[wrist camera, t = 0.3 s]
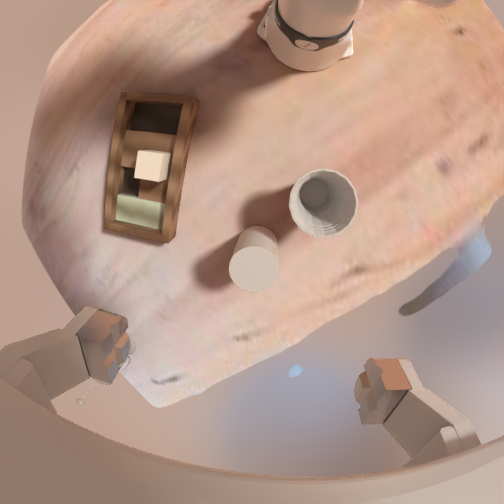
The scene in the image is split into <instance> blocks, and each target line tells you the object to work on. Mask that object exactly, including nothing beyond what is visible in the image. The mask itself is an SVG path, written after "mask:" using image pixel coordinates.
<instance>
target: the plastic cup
mask: <svg viewBox="0 0 504 504" xmlns="http://www.w3.org/2000/svg"><path fill="white" fill-rule="evenodd" d="M289 208H290V212H291V215H292V219H293V220H294V222H295V223H296V224H297V225H298V227H299V228H300V229H301V230H302V231H304V232H306V233H307V234H309V235H311V236H312V237H320V238H329V237H333V236H337V235H339V234H341V233H342V232H343V231H345V230H346V229H347V228H349V227H350V225H351V224H352V222H353V220H354V219H355V217H356V215H357V209H358V198H357V193H356V189H355V188H354V186H353V185H352V183H351V182H350V181H349V179H348V178H347V177H346V176H344V175H342V174H341V173H339V172H338V171H336V170H331V169H325V168H320V169H316V170H312V171H308V172H307V173H306V174H304V175H303V176H302V177H300V178H299V179H298V180H297V181H296V183H295V185H294V187H293V188H292V190H291V192H290V200H289Z"/></svg>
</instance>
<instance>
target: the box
mask: <svg viewBox="0 0 504 504" xmlns="http://www.w3.org/2000/svg"><path fill="white" fill-rule="evenodd" d="M198 104H199V100H197V99H196V98H194V97H191V96H181V95H170V94H154V93H122V92H121V96H120V101H119V105H118V110H117V115H116V121H115V126H114V132H113V138H112V145H111V152H110V159H109V167H108V177H107V187H106V200H105V217H104V228H105V229H109V230H113V231H117V232H121V233H126V234H130V235H134V236H138V237H142V238H147V239H151V240H155V241H159V242H164V243H169V242H170V241H171V240H172V239H173V238H174V237H175V235H176V227H177V220H178V212H179V206H180V199H181V192H182V186H183V180H184V174H185V168H186V163H187V157H188V152H189V147H190V142H191V137H192V132H193V127H194V122H195V117H196V113H197V108H198ZM139 150H154V151H161V152H168V153H173V154H172V160H171V166H170V172H169V178H168V179H166V180H163V181H160V182H156V181H151V180H145V179H139V178H134V175H135V167H136V160H137V154H138V151H139Z"/></svg>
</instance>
